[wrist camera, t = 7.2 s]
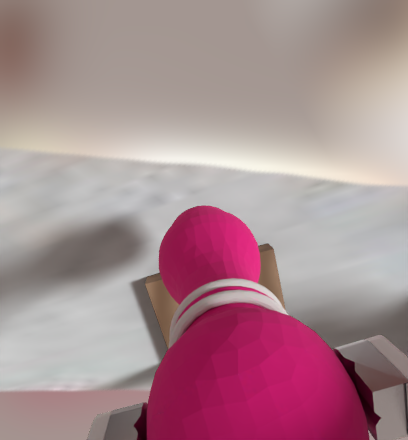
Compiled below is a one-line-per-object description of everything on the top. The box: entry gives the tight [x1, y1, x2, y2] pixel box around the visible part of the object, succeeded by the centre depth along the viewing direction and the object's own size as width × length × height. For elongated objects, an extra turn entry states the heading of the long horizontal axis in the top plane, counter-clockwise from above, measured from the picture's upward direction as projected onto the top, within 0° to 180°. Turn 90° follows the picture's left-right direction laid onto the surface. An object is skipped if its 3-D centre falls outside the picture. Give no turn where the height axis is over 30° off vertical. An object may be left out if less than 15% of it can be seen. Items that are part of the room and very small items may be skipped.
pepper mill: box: [147, 206, 369, 440], centre depth 13 cm, size 7×7×20 cm
